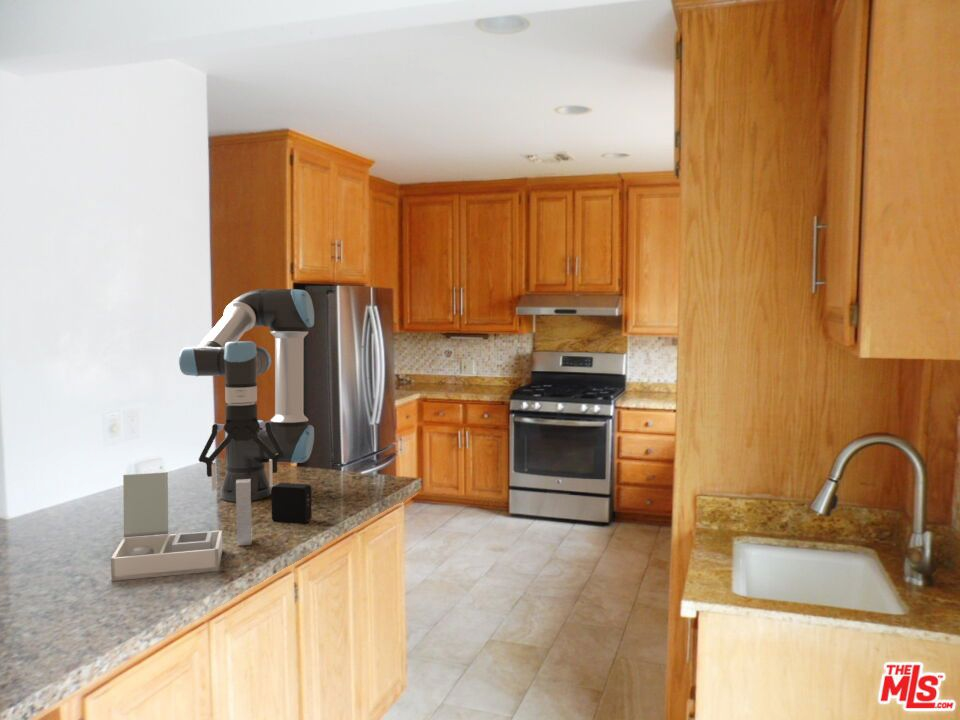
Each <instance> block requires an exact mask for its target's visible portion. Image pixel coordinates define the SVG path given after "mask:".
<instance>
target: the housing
mask: <svg viewBox="0 0 960 720" xmlns="http://www.w3.org/2000/svg"><path fill="white" fill-rule="evenodd" d="M223 549H224V548H223V530H204V531H195V532H182V533H173V534H172V533H171V534H161V535H149V536H136V537H123V538H122V539H121V541H120V543H119V545H118V546H117V548H116V549H115V551H114V553H113V554H112V556H111V557H110V570H111V571H110V574H111V582H115V581H117V582H118V581H127V580H136V579H138V580H140V579H147V578H148V579H149V578H157V577H168V576H170V577H171V576H179V575H190V574H200V573H211V572H212V573H213V572H219V571H220V567H221V561H222V560H221V559H222V555H223V551H224V550H223Z"/></svg>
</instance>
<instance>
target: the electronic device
mask: <svg viewBox="0 0 960 720" xmlns="http://www.w3.org/2000/svg"><path fill="white" fill-rule="evenodd" d="M270 496H271V497H270V498H271V502H270V503H271V521H272V522H274V523H276V522H277V523H288V524H298V525H299V524H300V525H301V524H305V523H306V522H308V521H309V520H311V519H312V486H311V484H307V483H304V484H303V483H290V482H289V483H288V482H280V483H276V484H275V485H274V484H273V487H271V495H270Z"/></svg>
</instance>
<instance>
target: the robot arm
mask: <svg viewBox="0 0 960 720" xmlns="http://www.w3.org/2000/svg"><path fill="white" fill-rule="evenodd" d="M314 325H315V309H314V304H313V300H312V297H311V295H310V294H309V292H308V291H306V290H304V289H296V288H295V289H294V288H286V289H285V288H284V289H281V288H280V289H278V288H277V289H276V288H275V289H273V288H272V289H269V288H267V289H265V288H261V289H259V288H258V289H254V290H250V291H247V292H245V293H243V294H241V295H239V296H237V297H236V298H234V299H232V301H231V302H230V303H228V305H226V307H225V309H224V310H223V316H222V317H221V318H220V319H219V320H218V321H217V323H216V324H215V326H213V327H212V329H210V331H209V333H207V335H206V336H205V337H204V338H203V339H202V341H201V342H200V343H199V344H198V345H197V346H186V347H183V348H182V349H181V350H180V353H179V357H178V366H179V370H180V371H181V373H182V375H185V376H194V377H215V376H217V377H218V376H219V377H224V390H225V391H224V393H225V396H224V398H225V403H226V405H225V423H223V424H222V423H218V422H214V423H213V424H212V427H211V434H210V436H209V438H208V439H207V442H206V444H205V445H204V447H203V450H202V452H201V453H200V456H199V457H198V461H199V463H204V464H206V476H207V477H208V478H209V477H211V491H216V489H217V471H216V470H217V469H216V464H217V463H216V461H214V460H216V458H217V457H218V456H219V455H220V454H221V452H222V451H223V450H224V449H225V450H224V451H225V471H226V472H225V475H224V479H223V482H222V485H221V488H220V499H222V500H223V501H226V502H227V501H228V502H234V503H236V480H241V479H251V502H252V501H253V502H254V501H258V500H262V499H266V498H268V497H269V496H271V488H272V487H273V486H274V484H273V483H274V480H273V474H277V472H278V464H280V463H281V464H282V463H283V464H286V463H287V464H289V463H291V464H292V465H293V464H296V463H297V464H299V463H300V464H301V463H306V462H307V461H308V460H309V459H310V457H311V454H312V451H313V447H314V443H315V427H314V426H313V425H311V424H309V418H308V417H307V416H306V415H305V414H304V343H305V342H304V339H305V337H306V336H307V335H308V334H309V328H312V327H314ZM255 327H257V328H258V327H269V333H270V334H271V335H272V336H273V337H274V382H275V383H274V388H275V389H274V390H275V391H274V399H275V400H274V409H275V410H274V415H273V417H272V418H270V420H266V421H265V422H264V420H261V419H258V405H257V403H256V402H257V401H258V383H257V382H258V378H257V377H258V376H261V375H263V374H265V373H266V372H267V371H268V370H269V369H270V367H271V365H272V357H271V355H270V353H269V351H268V350H267V349H266V348H264V347H262V346H257V344H256V342H254V341H250V340H247V341H246V340H242V341H241V340H240V339H241V338H242V336H243V335H244V334H245V332H248V331H250V330H251V329H253V328H255ZM239 340H240V341H239ZM222 430H223V431H225V433H224V434H225V435H224V436H225V438H224V439H223V440H222V441H221V442H220V444H219V445H218V446H217V447H216V448H215V449H214V450H213V452H212V453H211V454H210V455H209V456H207V455H208V453H209V451H210V449H211V447H212V445H213V443H214V441H215V438H216V437H217V434H218V433H221V432H222ZM266 463H267V464H269V467H268V468H269V469H268V470H269V476H268V474H267V471H266Z"/></svg>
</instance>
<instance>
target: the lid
mask: <svg viewBox="0 0 960 720" xmlns="http://www.w3.org/2000/svg"><path fill="white" fill-rule="evenodd" d="M168 476H169V474H168V471H167V472H166V471H165V472H147V473H133V474H132V473H131V474H130V473H129V474H128V473H127V474H123V475H122V478H123V481H122V482H123V485H122V487H123V538H133V537H145V536H158V535H169V478H168Z"/></svg>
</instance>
